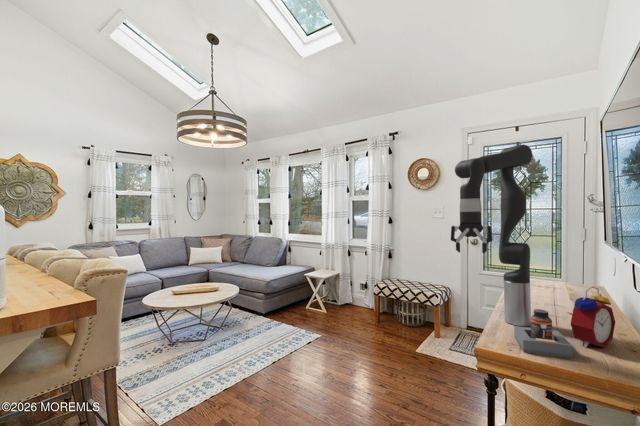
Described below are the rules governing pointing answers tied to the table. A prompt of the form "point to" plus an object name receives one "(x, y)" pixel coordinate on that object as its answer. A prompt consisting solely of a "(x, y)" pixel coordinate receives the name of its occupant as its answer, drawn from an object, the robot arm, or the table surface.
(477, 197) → the robot arm
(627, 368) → the table surface
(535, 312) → the supplement bottle
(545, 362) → the table surface
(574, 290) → the table surface
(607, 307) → the alarm clock
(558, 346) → the socket holder
